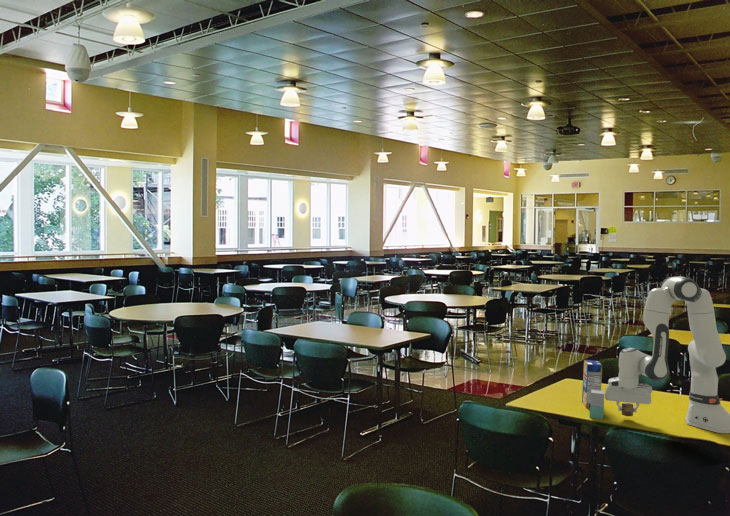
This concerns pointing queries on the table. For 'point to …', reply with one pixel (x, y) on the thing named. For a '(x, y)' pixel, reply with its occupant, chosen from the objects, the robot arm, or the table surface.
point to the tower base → (596, 411)
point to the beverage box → (591, 380)
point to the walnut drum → (627, 409)
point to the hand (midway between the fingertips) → (627, 411)
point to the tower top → (597, 398)
